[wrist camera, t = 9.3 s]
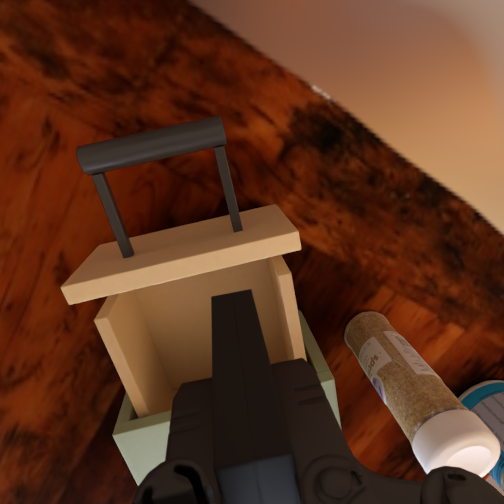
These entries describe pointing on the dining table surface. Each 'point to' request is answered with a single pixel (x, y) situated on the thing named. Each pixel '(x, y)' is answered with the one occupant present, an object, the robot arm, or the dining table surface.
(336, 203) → the dining table surface
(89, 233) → the dining table surface
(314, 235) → the dining table surface
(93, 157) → the drawer
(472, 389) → the beverage bottle
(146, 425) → the cabinet
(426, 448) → the spice jar
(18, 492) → the dining table surface
